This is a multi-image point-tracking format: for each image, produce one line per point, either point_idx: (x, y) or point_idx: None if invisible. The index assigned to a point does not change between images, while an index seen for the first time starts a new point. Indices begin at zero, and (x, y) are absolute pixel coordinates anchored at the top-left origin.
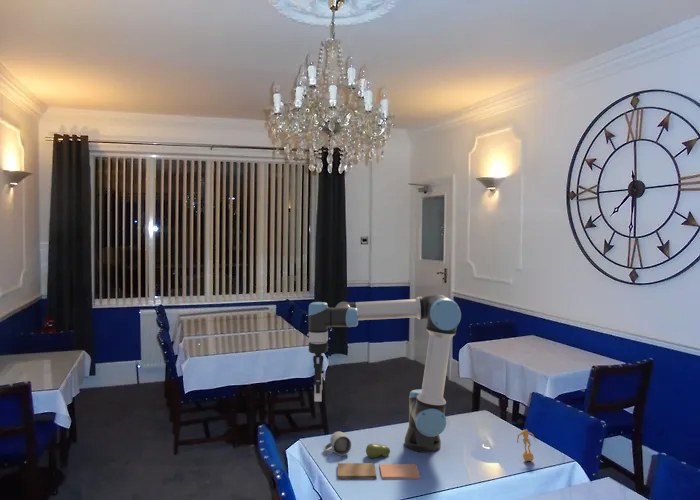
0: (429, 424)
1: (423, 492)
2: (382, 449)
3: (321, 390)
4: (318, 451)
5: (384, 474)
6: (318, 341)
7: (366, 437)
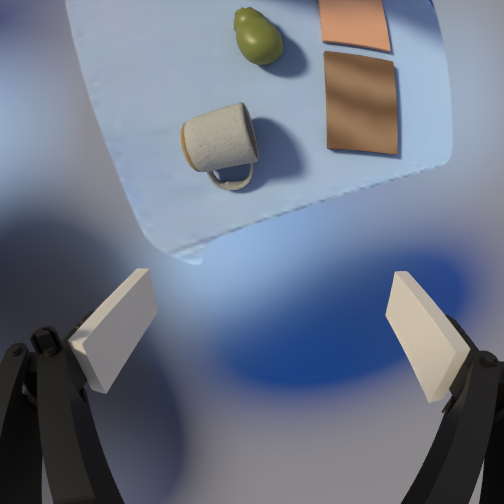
0: None
1: (427, 3)
2: (266, 20)
3: (437, 313)
4: (228, 203)
5: (379, 42)
6: None
7: (132, 77)
